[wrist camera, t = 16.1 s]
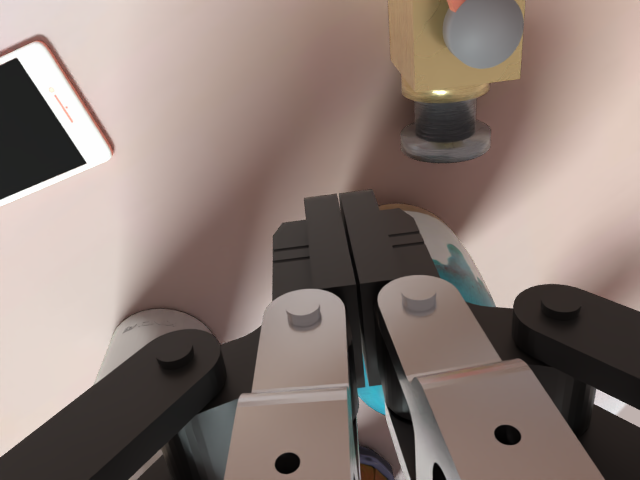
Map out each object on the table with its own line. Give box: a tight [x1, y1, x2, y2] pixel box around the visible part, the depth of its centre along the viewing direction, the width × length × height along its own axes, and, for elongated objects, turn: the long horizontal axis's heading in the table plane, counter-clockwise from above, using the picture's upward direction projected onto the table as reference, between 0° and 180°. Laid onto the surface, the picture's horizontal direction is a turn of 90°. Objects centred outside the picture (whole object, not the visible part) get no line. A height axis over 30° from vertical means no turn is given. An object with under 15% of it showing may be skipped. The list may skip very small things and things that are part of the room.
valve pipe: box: [388, 0, 525, 163], centre depth 34 cm, size 18×6×9 cm, turn 6°
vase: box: [357, 204, 496, 415], centre depth 39 cm, size 11×11×19 cm
